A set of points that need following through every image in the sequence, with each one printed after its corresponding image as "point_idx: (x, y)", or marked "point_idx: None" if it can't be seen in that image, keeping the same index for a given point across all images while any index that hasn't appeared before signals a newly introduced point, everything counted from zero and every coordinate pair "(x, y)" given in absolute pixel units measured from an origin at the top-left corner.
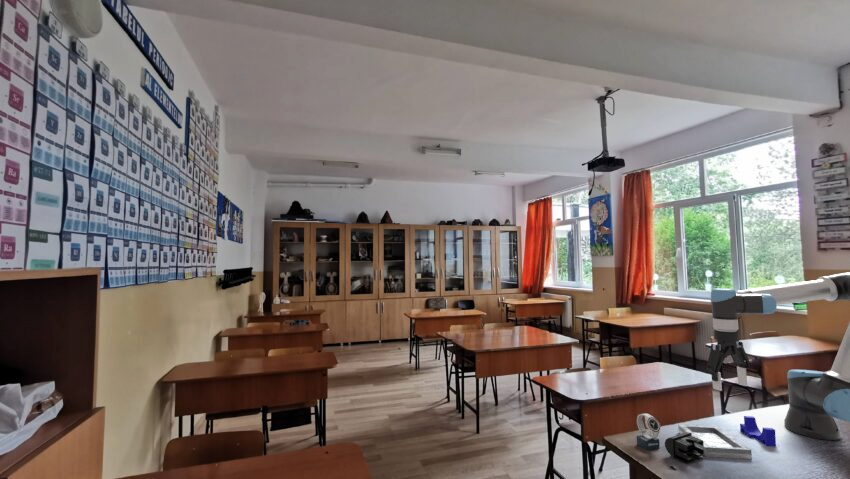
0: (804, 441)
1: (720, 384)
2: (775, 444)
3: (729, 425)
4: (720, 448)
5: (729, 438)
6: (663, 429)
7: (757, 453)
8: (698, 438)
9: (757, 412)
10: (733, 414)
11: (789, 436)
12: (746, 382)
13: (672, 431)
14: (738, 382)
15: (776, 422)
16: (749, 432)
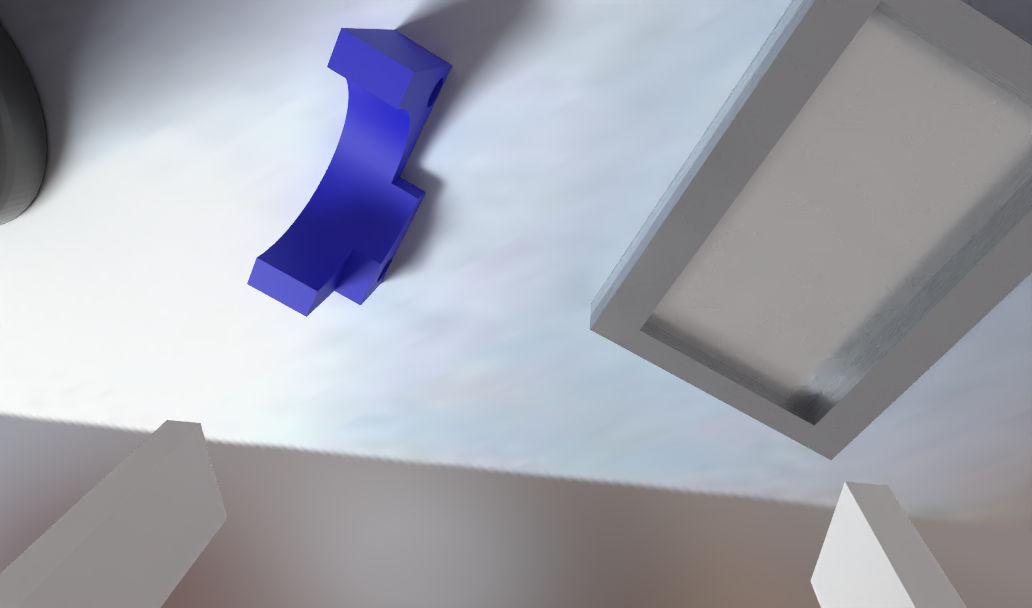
0: (106, 5)
1: (943, 594)
2: (392, 30)
3: (365, 357)
4: None
5: (754, 168)
6: None
7: (660, 4)
8: (994, 266)
9: (17, 391)
10: None
11: (136, 101)
12: (137, 464)
13: None
14: (209, 535)
15: (26, 267)
16: (399, 216)
